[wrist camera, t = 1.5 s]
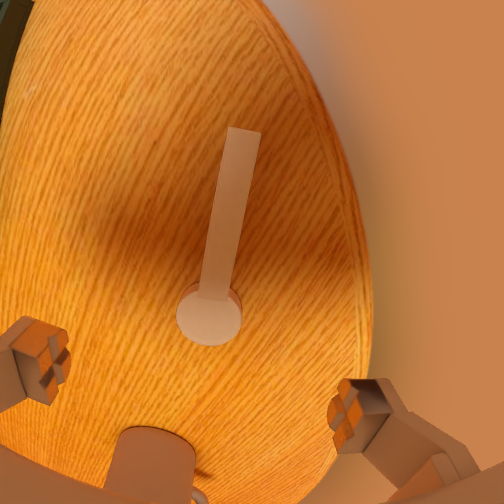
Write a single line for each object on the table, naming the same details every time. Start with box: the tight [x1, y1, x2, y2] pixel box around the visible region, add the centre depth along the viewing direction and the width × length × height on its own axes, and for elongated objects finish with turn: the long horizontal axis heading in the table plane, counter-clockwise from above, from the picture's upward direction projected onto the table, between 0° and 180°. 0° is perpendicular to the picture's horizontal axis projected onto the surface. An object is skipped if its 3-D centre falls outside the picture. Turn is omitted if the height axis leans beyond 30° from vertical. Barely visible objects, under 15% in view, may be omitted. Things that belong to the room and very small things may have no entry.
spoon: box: [176, 126, 262, 346], centre depth 19 cm, size 14×4×2 cm, turn 168°
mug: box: [103, 427, 209, 504], centre depth 22 cm, size 12×8×11 cm
